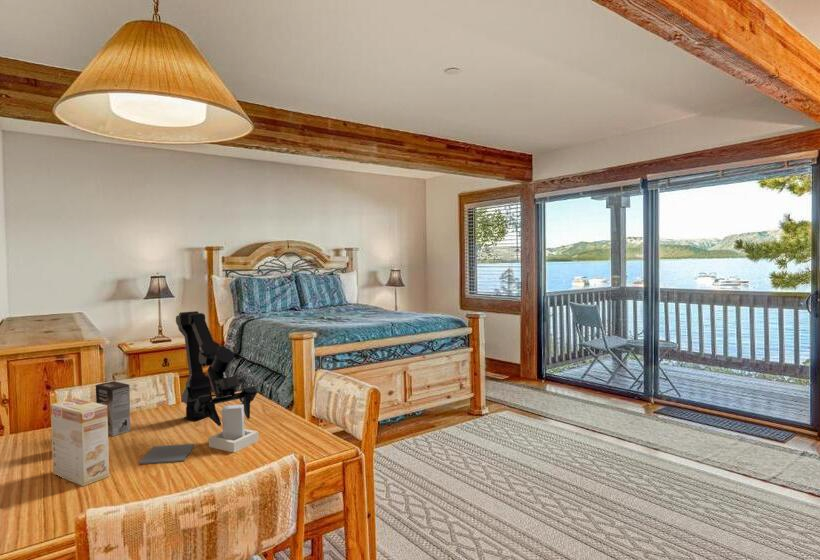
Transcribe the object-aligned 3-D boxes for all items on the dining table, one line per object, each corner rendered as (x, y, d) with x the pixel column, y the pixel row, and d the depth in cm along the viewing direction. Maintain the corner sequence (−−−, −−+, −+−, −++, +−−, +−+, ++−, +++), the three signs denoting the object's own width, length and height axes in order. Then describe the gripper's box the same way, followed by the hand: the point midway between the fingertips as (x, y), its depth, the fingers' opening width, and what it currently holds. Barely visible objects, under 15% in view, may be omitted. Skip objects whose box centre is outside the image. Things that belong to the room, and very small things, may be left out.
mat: (153, 448, 150) (153, 446, 150) (194, 445, 152) (194, 443, 152) (138, 464, 138) (138, 462, 138) (183, 461, 140) (183, 459, 140)
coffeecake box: (110, 476, 131) (108, 404, 130) (82, 487, 124) (79, 412, 123) (80, 464, 138) (77, 397, 137) (51, 474, 131) (49, 403, 130)
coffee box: (96, 432, 163) (94, 384, 162) (115, 426, 169) (113, 380, 168) (112, 437, 159) (110, 388, 158) (131, 430, 164) (130, 383, 164)
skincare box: (245, 440, 156) (244, 403, 155) (243, 446, 151) (242, 407, 151) (225, 441, 155) (224, 404, 154) (222, 447, 150) (221, 408, 150)
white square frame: (234, 435, 160) (233, 426, 160) (258, 440, 155) (258, 431, 155) (208, 447, 150) (208, 437, 150) (234, 452, 146) (234, 443, 146)
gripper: (196, 370, 149) (211, 414, 141) (254, 361, 161) (270, 401, 154) (188, 391, 155) (201, 434, 147) (244, 380, 168) (259, 420, 160)
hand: (234, 421), depth 152 cm, fingers open, 9 cm apart
